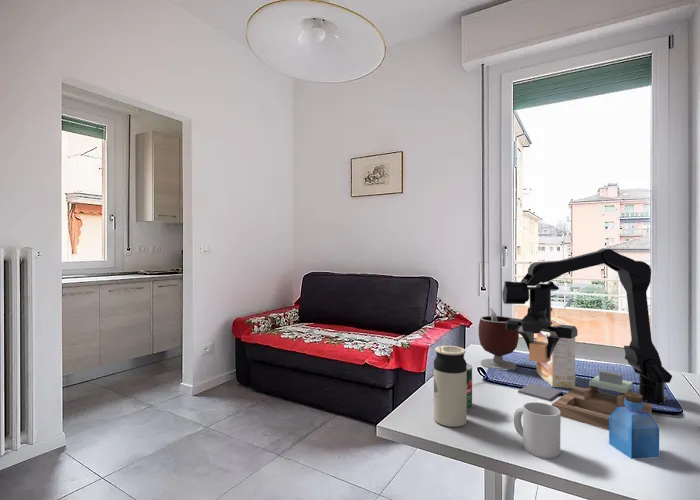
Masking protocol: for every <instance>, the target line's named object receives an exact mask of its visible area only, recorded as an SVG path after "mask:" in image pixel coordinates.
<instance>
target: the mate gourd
mask: <svg viewBox="0 0 700 500" xmlns="http://www.w3.org/2000/svg"><path fill="white" fill-rule="evenodd" d="M489 312H490V315H484V316H480V318H479V323H478V340H479V341H478V342H479V344H480V346H481V347H482V349H483V350H484V351H486V352H487V353H488V354H491V355H493V358H485V359H482V360H481V361H480V365H481V366H482V367H484V368H486V369H489V368H495V369H513V370H515V369H516V368H517V364H516V363H515V362H514V361H511V360H508V359H507V360H506V359H504V358H503V356H506V355H508V354H512V353H514V351H515V350H516V349H517V347H518V343H519V340H520V337H519V336H520V334H518V333H517V332H518V329H517V330H509V329H506V322H507V321H508V320H510V319H513V318H514V317H509V316H503V315H502V316H501V315H497V313H496V312H495V310H494V309H493V308H492V307H489ZM514 368H515V369H514Z"/></svg>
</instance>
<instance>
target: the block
mask: <svg viewBox="0 0 700 500" xmlns="http://www.w3.org/2000/svg"><path fill="white" fill-rule="evenodd" d="M547 347H548V343H545V342H539V341H537V340H534V342H532V343H529V350H528V355H529V357H528V360H529V361H532V362H536V363H537V362H541V363H547V362H548V361H550V360H551V357H550V358H549V359H548V358H547Z"/></svg>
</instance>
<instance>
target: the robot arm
mask: <svg viewBox="0 0 700 500" xmlns="http://www.w3.org/2000/svg"><path fill="white" fill-rule="evenodd" d="M603 264H604V265H605V266H607V267H608V268H609V269H610V270H613V271H615V272H617V275H618V279H619V282H620V284H621V285H622V287H623V288H624V290H625V293H626V301H627V302H626V303H627V309H628V311H627V312H628V317H629V318H628V319H629V328H630V329H629V331H630V337H631V338H630V339H631V340H630V343H629V345H623V350H624V353H625V355H624V359H625V360H627V364H628V365H629V366H630V367H632V369H633V370H634V373H635V374H638V375H639V376H638V380H639V383H638V385H639V386H638V388H639V389H638V393H637V394H640V395H642V396H643V397H642V401H644V400H646V402H649V401H651V402H650V403H653V402H657V403H662V404H664V403H665V404H666V402H667V401H668V399H667V398H668V397H667V396H665V383H666V384H670V383H671V381H672V379H673V375H672V374H671V373H670V372H669V371H668V370H666V368H665V367H664V366H663V364H662V361H661V360H662V359H661V357H660V354H659V352H658V350H657V348H656V346H655V345H654V343H653V339H652V333H651V332H652V331H651V323H650V322H651V321H650V314H649V304H648V296H647V295H648V294H647V292H648V288H649V287H650V284H651V280H652V268H651V266H650V264H648V263H646V262H645V261H642V260H634V259H633V258H630V257H628V256H626V255H623V254H620V253H618V252H616V251H615V250H613V249H611V248H602V249H599V250H596V251H591V252H589V253H584V254H581V255H576V256H571V257H567V258H564V259H559V260H547V261H536V262H532V263H531V264H530V265H529V266H528V268H527V273H526V274H525V275H524V277H523V278H522V279H521V280H520V281H510V280H504V285H503V289H502V291H501V292H502V294H501V295H502V302H503V304H504V305H525V304H526V302H528V301H529V307H528V309H527V314H526V315H525V316H523V318H514V317H512V318H513V319H510V320H508V321H507V322H506V329H509V330H517V329H518V332H517V333H518V334H519V335H521V337H523V340H524V341H525V344H526V346H527V349H528V351H529V343H532V342H534V341H535V334H536V335H537V333H540V331H544V332H550V336H547V340H548V347H547V358H548V359H549V358H550V357H551V355H552V352H553V350H554V348H555V346H556V344H557V342H558V341H559V339H561V338H567V339H572V338H574V337H575V338H576V337H577V336H578V328H577V327H576V325H574V326H570V325H560V326H557V327H554V326H551V325H552V321H551V317H552V312H553V307H552V303H551V302H552V291H559V287H558V286H557V285H556V284H555V283H554V282H553V281H552V280H554V279H556V278H559V277H561V276H562V275H565V274H567V273H571V272H575V271H579V270H583V269H588V268H591V267H595V266H600V265H603ZM666 400H667V401H666ZM665 401H666V402H665ZM657 403H656V404H657ZM662 404H661V405H662ZM665 404H664V405H665Z"/></svg>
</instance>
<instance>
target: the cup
mask: <svg viewBox="0 0 700 500" xmlns="http://www.w3.org/2000/svg"><path fill="white" fill-rule="evenodd" d="M561 417H562V416H561V412H560V410H559V409H558V408H556V407H554V406H552V404H548V403H543V402H537V401H531V402H530V401H529V402H526V403H524V404H523V405H522V406H518V407H517V408H516V409H515V411H514V415H513V425H514V429H515V430H516V432H517V434H518V435H520V437H521V438H522V446H523V448H524V450H525V451H526V452H528V454H530V455H532V456H535V457H538V458H540V459H555V458H558V456H559V455H560V454H561Z"/></svg>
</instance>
